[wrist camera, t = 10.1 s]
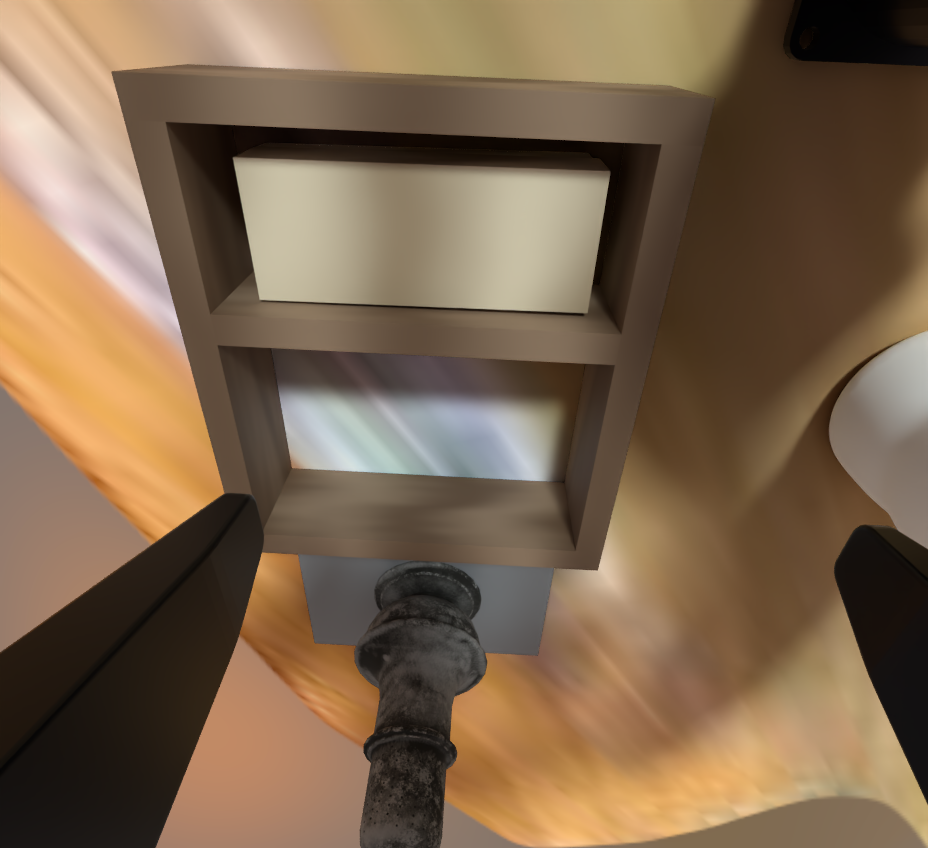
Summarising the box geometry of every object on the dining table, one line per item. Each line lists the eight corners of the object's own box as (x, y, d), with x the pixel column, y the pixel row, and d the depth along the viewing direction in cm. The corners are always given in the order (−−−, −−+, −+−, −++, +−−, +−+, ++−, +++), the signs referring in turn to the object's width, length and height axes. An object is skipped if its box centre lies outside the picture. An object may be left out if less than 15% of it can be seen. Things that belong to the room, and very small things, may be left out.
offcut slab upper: (599, 158, 16) (610, 171, 15) (579, 290, 19) (587, 313, 17) (255, 146, 17) (232, 157, 15) (277, 278, 19) (259, 299, 17)
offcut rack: (669, 85, 16) (715, 98, 13) (583, 500, 25) (597, 570, 22) (187, 64, 16) (111, 71, 13) (272, 484, 26) (240, 551, 22)
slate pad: (556, 528, 26) (558, 543, 26) (536, 639, 31) (537, 655, 30) (299, 514, 26) (293, 529, 26) (319, 627, 31) (314, 643, 30)
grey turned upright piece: (501, 624, 29) (505, 929, 19) (394, 641, 30) (346, 937, 20) (467, 545, 26) (451, 862, 16) (349, 568, 27) (266, 876, 17)
